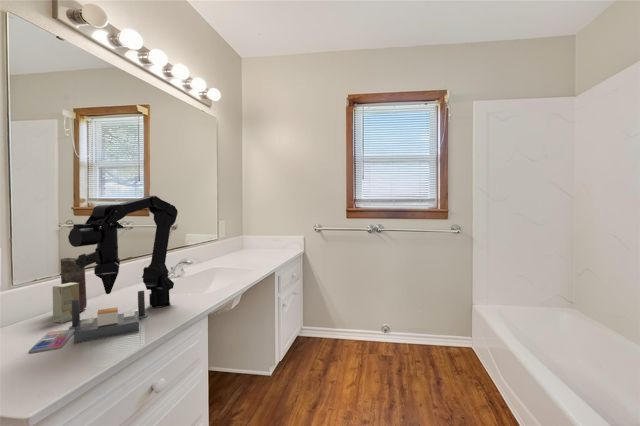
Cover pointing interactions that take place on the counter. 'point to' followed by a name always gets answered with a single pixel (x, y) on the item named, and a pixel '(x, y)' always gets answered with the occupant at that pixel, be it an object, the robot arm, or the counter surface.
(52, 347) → the smartphone
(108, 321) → the slider
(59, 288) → the skincare box
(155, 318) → the counter surface
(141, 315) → the post
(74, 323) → the post
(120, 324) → the panel
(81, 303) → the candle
